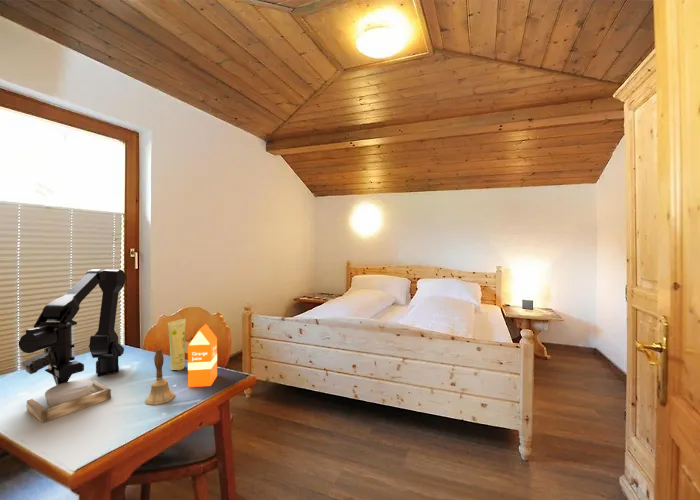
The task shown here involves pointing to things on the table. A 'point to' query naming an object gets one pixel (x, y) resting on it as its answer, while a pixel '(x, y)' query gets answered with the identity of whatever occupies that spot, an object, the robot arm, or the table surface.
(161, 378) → the hand bell
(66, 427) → the table surface
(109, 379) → the table surface
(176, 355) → the tube
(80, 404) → the cradle
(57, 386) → the ramekin
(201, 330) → the orange juice
